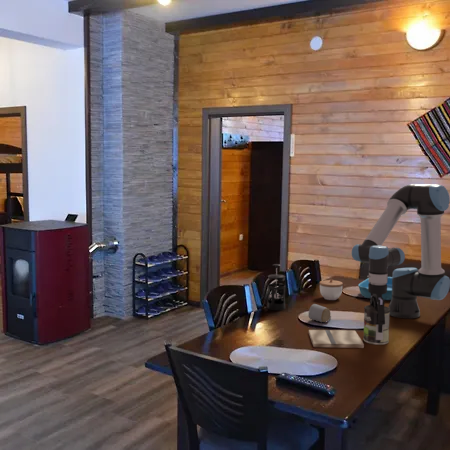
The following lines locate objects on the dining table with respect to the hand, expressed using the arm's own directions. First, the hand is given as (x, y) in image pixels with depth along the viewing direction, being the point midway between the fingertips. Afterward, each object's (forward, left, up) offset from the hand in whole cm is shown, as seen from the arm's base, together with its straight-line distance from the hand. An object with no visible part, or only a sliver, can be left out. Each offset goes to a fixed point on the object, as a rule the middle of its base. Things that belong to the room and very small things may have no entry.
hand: (376, 335), depth 218 cm
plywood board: (+17, 0, -2) cm, 17 cm away
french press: (+39, -51, -3) cm, 64 cm away
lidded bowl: (+8, -72, -3) cm, 72 cm away
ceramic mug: (+19, -29, -3) cm, 35 cm away
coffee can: (0, 0, -2) cm, 2 cm away
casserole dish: (-23, -84, -3) cm, 87 cm away
